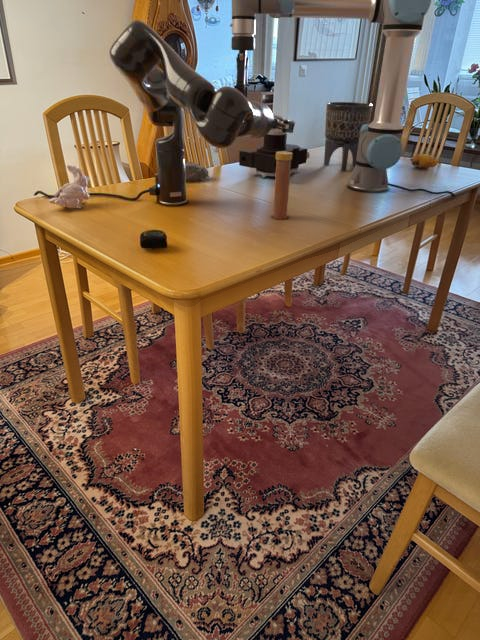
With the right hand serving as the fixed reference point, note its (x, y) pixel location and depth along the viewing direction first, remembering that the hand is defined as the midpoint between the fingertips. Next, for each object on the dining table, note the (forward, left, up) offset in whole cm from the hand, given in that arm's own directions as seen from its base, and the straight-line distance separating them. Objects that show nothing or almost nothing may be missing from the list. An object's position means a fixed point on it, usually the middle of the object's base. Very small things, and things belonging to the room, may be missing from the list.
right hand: (241, 109), depth 155 cm
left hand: (-11, +46, +2) cm, 48 cm away
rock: (+20, -15, -28) cm, 38 cm away
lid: (-15, +30, -9) cm, 34 cm away
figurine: (+53, +28, -28) cm, 66 cm away
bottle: (-15, +30, -28) cm, 43 cm away
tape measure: (+18, +61, -28) cm, 69 cm away
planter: (-44, -51, -28) cm, 73 cm away
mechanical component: (-15, -33, -28) cm, 46 cm away
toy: (-82, -57, -28) cm, 104 cm away
